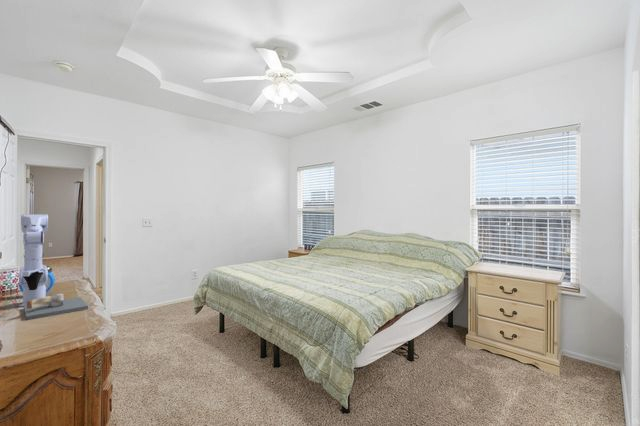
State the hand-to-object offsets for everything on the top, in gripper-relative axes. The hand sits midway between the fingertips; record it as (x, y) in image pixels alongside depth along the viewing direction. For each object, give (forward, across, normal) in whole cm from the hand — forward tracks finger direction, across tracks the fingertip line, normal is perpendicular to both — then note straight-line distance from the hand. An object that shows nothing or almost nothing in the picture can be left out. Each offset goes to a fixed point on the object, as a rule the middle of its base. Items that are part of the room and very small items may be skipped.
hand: (33, 289), depth 132 cm
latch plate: (+9, 0, -8) cm, 12 cm away
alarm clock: (+10, +31, +9) cm, 34 cm away
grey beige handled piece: (+8, -3, -5) cm, 10 cm away
